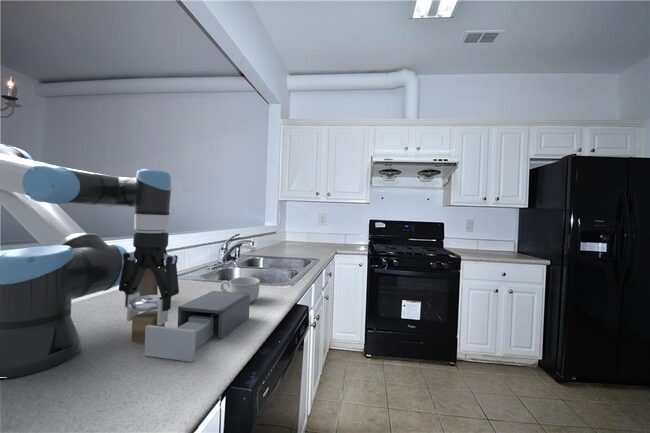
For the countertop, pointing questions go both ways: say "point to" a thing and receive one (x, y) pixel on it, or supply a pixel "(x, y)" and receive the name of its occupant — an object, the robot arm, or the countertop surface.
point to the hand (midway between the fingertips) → (147, 321)
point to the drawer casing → (218, 310)
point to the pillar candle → (147, 285)
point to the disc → (144, 303)
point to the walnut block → (143, 324)
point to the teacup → (243, 286)
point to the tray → (178, 339)
